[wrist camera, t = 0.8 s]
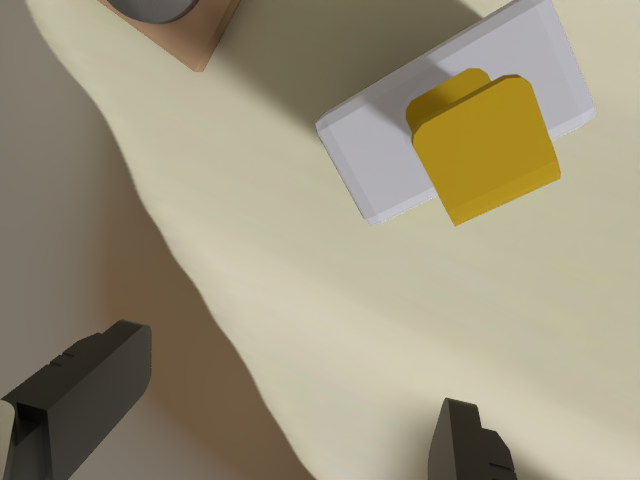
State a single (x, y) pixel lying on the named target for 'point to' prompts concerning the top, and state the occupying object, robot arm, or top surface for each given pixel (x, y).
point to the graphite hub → (154, 9)
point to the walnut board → (189, 31)
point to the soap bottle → (463, 119)
